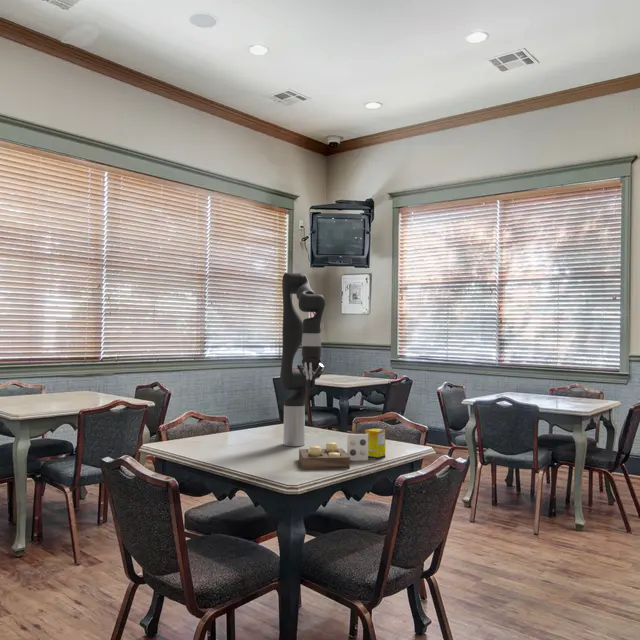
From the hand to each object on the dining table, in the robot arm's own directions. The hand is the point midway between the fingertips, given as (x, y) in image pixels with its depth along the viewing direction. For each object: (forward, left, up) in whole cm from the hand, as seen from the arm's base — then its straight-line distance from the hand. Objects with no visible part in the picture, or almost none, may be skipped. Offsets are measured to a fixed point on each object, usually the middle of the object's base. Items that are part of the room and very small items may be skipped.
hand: (310, 389), depth 236 cm
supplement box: (-1, +26, -27) cm, 38 cm away
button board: (+10, +4, -27) cm, 29 cm away
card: (+4, +18, -27) cm, 33 cm away
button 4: (+13, +8, -26) cm, 30 cm away
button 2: (+13, 0, -23) cm, 27 cm away
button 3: (+6, +8, -23) cm, 25 cm away
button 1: (+6, +1, -26) cm, 26 cm away
